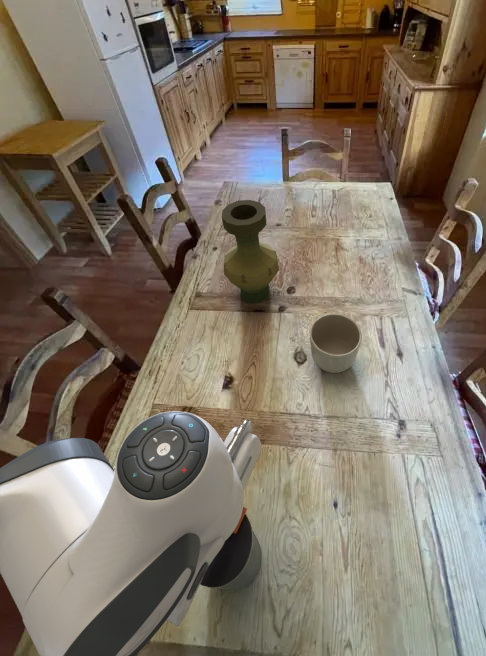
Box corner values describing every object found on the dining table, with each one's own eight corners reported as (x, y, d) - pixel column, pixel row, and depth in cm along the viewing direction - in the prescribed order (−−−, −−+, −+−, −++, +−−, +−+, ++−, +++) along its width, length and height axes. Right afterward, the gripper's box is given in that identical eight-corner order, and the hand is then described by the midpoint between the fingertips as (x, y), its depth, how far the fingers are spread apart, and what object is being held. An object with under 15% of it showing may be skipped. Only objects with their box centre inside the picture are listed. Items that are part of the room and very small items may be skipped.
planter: (364, 351, 91) (370, 327, 83) (343, 388, 83) (347, 365, 76) (323, 331, 96) (325, 306, 88) (300, 364, 88) (300, 340, 81)
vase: (222, 308, 103) (201, 228, 82) (237, 271, 114) (222, 192, 93) (275, 314, 100) (268, 234, 79) (285, 276, 112) (281, 197, 91)
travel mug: (246, 607, 57) (230, 603, 43) (198, 576, 60) (169, 564, 46) (271, 540, 63) (263, 519, 50) (227, 515, 66) (208, 489, 53)
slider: (236, 534, 48) (233, 530, 46) (212, 520, 49) (208, 516, 48) (247, 509, 50) (245, 505, 48) (223, 496, 52) (221, 492, 50)
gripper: (227, 405, 46) (239, 443, 55) (115, 597, 32) (157, 603, 42) (269, 424, 44) (274, 459, 53) (168, 637, 31) (200, 633, 40)
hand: (222, 524), depth 48 cm, fingers closed
